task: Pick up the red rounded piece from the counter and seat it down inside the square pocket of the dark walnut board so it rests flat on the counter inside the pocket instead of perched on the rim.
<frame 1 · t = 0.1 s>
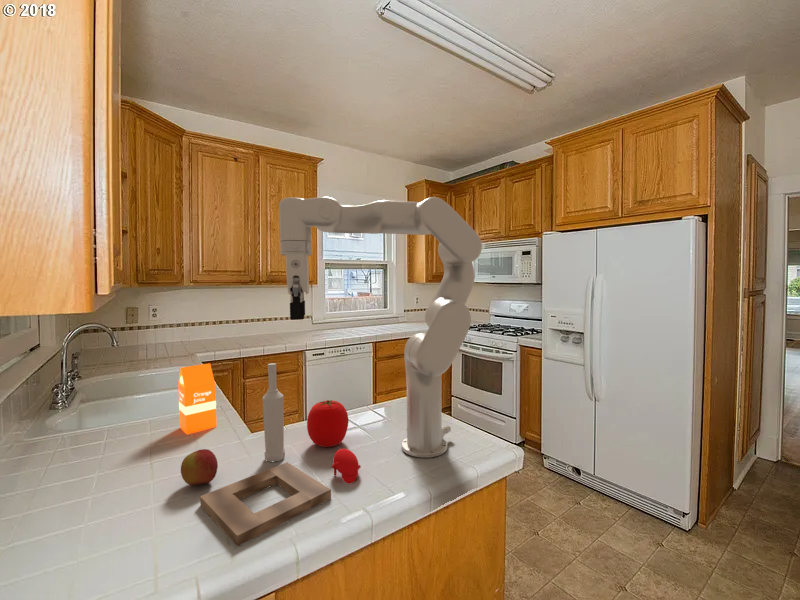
hand: (298, 317, 97), 37 cm above the worktop, tool pointing down, fingers open, 9 cm apart
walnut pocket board: (266, 501, 81), on the worktop
red rounded piece: (346, 477, 91), on the worktop
bottle: (275, 459, 100), on the worktop
orange juice: (198, 427, 122), on the worktop
tomato: (329, 444, 109), on the worktop
apple: (200, 485, 88), on the worktop
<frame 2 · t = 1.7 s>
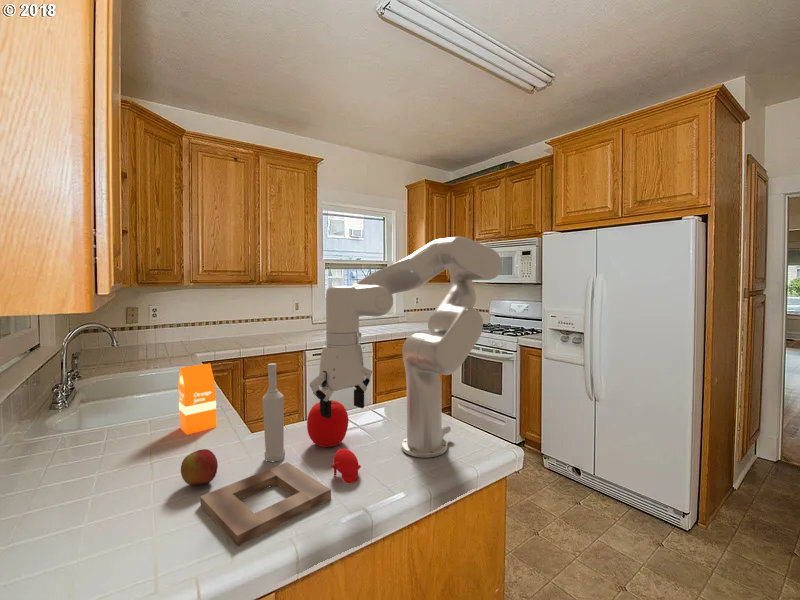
hand: (343, 411, 90), 16 cm above the worktop, tool pointing down, fingers open, 9 cm apart
nothing on the worktop moved.
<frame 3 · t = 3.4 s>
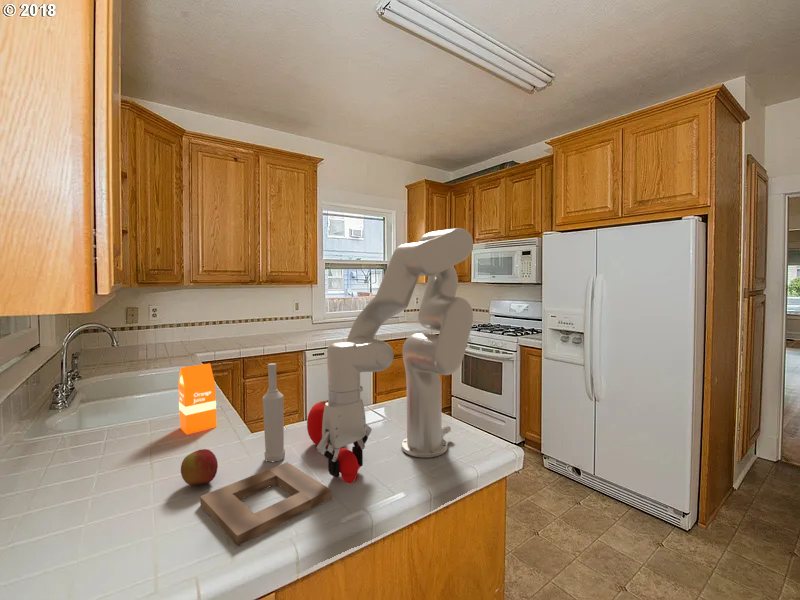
hand: (346, 469, 91), 2 cm above the worktop, tool pointing down, fingers closed on red rounded piece, 6 cm apart
red rounded piece: (345, 477, 91), on the worktop, touching gripper
everything else where it was.
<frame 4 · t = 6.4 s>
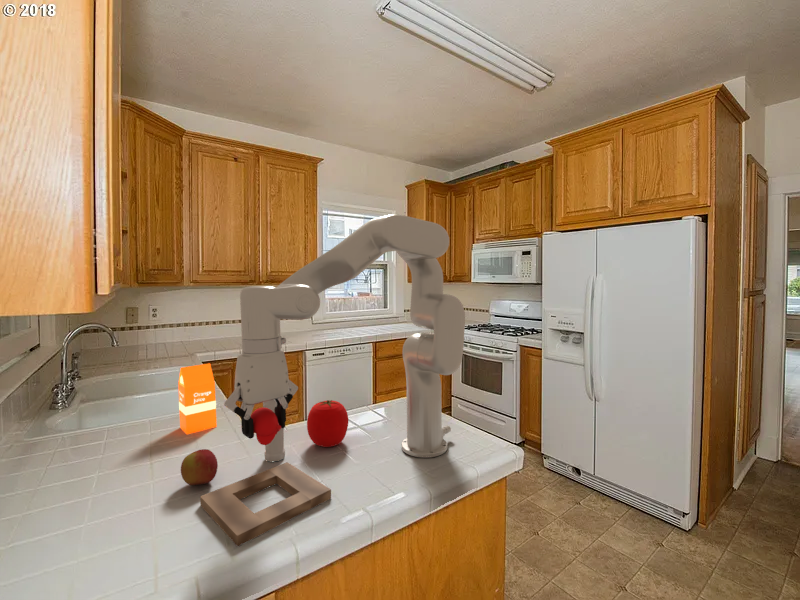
hand: (264, 430, 80), 15 cm above the worktop, tool pointing down, fingers closed on red rounded piece, 6 cm apart
red rounded piece: (264, 439, 80), point 14 cm above the worktop, touching gripper
everything else where it was.
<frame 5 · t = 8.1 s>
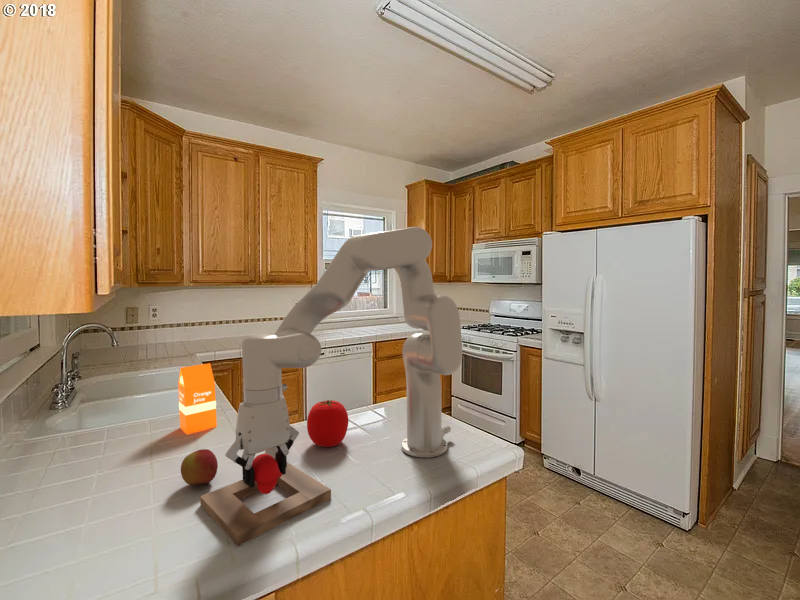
hand: (265, 477, 80), 5 cm above the worktop, tool pointing down, fingers closed on red rounded piece, 6 cm apart
red rounded piece: (265, 486, 80), point 3 cm above the worktop, touching gripper
everything else where it was.
when the fingers open (3 cm above the worktop, at t = 9.4 s): red rounded piece drops 2 cm, on the worktop.
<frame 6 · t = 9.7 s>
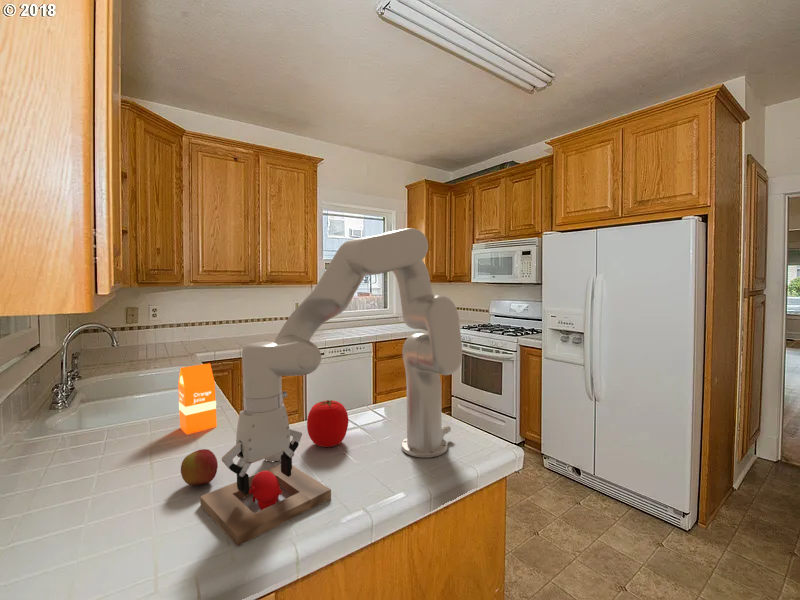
hand: (266, 482, 80), 4 cm above the worktop, tool pointing down, fingers open, 9 cm apart
red rounded piece: (266, 503, 81), on the worktop
everything else where it was.
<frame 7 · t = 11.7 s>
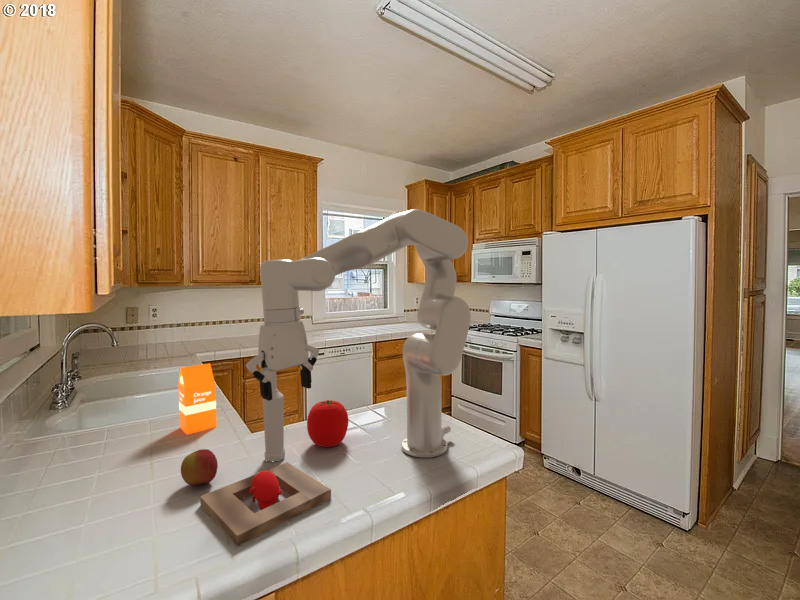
hand: (287, 393, 85), 22 cm above the worktop, tool pointing down, fingers open, 9 cm apart
nothing on the worktop moved.
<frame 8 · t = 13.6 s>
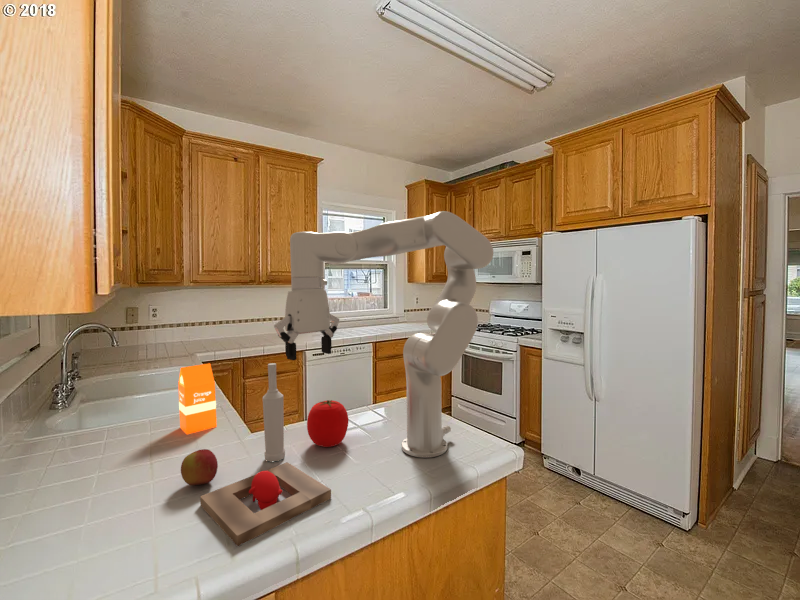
hand: (309, 356, 92), 28 cm above the worktop, tool pointing down, fingers open, 9 cm apart
nothing on the worktop moved.
at the end: red rounded piece 0.1 cm off-centre on the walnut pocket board, point 0.0 cm above the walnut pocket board's base; red rounded piece tilted 0°; the gripper is holding nothing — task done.
